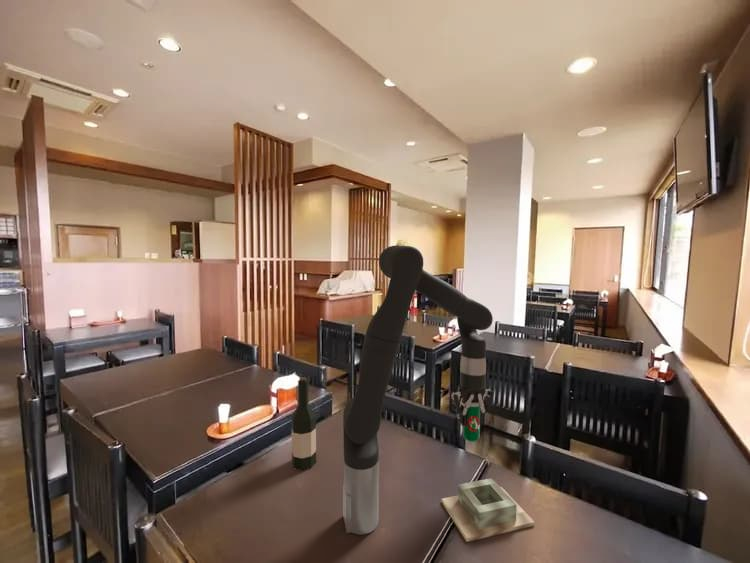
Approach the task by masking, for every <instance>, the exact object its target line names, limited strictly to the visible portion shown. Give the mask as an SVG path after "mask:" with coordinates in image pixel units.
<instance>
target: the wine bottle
mask: <svg viewBox="0 0 750 563" xmlns="http://www.w3.org/2000/svg"><path fill="white" fill-rule="evenodd" d="M297 389H298V390H297V392H298V394H297V397H298V399H297V400H298V401H297V402H298V405H297V406H296V408H295V409H294V411H293V413H292V415H291V463H292V468H293V469H294V468H296V469H295V470H298V469H300V470H299V471H305V470H304V469H306V470H308V469H307V468H310V469H312V468H313V467H314V466H315V465H316V464H317V420H316V418H317V416H316V414H315V413H314V411H313V409H312V407H311V406H310V404H309V380H308V378H307V377H303V376H302V377H300V378H299V379H298V380H297ZM314 464H315V465H314ZM313 465H314V466H313ZM312 466H313V467H312ZM311 467H312V468H311Z"/></svg>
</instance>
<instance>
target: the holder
mask: <svg viewBox="0 0 750 563" xmlns="http://www.w3.org/2000/svg"><path fill="white" fill-rule="evenodd" d="M457 488H458V489H457V495H454V496H453V495H452V496H449V497H444V498H443V497H442V498H441V500H440V502H441V503H442V505H443V507H444V508H445V510H446V511H447V513H448V515H449V516H450V518H451V519H452V521H453V523H454V525H456V527H457V529H458V530H459V532H460V534H461V535H462V537H463V538H464V540H465V542H466V543H467V542H472V541H475V540H481V539H485V538H489V537H493V536H497V535H501V534H505V533H506V534H507V533H510V532H513V531H517V530H522V529H526V528H530V527H535V521H534V520H533V518H531V516H530V515H528V514H527V512H526V511H525V510H524V509H523V508H522V507H521V506H520V505H519V503H518V502H517V501H516V500H515V499H514V498H512V497H511V495H509V493H508V492H507V491H506V490H505V489H504V488H503V487H502V486H500V485H499V484H498V483H497V482H496V481H495V480H494V479H493V477H492V478H486V479H480V480H475V481H470V482H464V483H460V484H458V485H457Z"/></svg>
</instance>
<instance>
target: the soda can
mask: <svg viewBox="0 0 750 563" xmlns="http://www.w3.org/2000/svg"><path fill="white" fill-rule="evenodd" d="M464 403H465V404H466V402H465V401H464ZM480 432H481V424H480V404H479V402H478V401H477V402H471V404H470V407H469V408H468V409H467V412H466V426H464V427H463V426H462V437H463V438H464V440H466V441H468V442H472V443H473V442H477V441H479V440H480V437H481V436H480V435H481V434H480Z"/></svg>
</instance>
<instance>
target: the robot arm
mask: <svg viewBox="0 0 750 563" xmlns="http://www.w3.org/2000/svg"><path fill="white" fill-rule="evenodd" d="M378 266H379V269H380V270H381V272H382V274H383V275H384V276H385V277H386V278H388V279H389V284H388V288H387V291H386V295H385V297H384V299H383V301H382V303H381V305H380V306H379V307H378V309H377V311H376V312H375V314H374V315H373V317H371V320H370V321H369V323H368V325H367V328H366V332H365V335H364V339H363V344H362V347H361V352H360V353H361V354H360V362H359V372H358V373H359V374H358V383H357V387H356V391H355V395H354V396H353V397H351V398H350V399H349V400H348V401H347V402H346V404H345V405H344V409H343V413H342V417H343V420H342V421H343V423H342V424H343V478H344V479H343V482H342V517H343V521H344V522H343V523H344V528H345V531H346V534H349V533H352V534H353V535H360V536H361V535H362V536H363V535H367V534H371V533H372V532H374V530H375V529H377V527H378V525H379V521H380V520H379V517H380V516H379V515H380V512H379V509H380V508H379V505H380V504H379V503H380V502H379V501H380V500H379V498H380V497H379V496H380V495H379V494H380V492H379V484H380V483H379V481H380V479H379V478H380V476H379V471H380V470H379V469H380V468H379V460H380V459H379V458H380V456H379V454H380V453H379V442H378V432H379V431H380V427H381V422H382V415H383V414H382V413H383V408H384V401H385V396H386V392H387V388H388V385H389V383H390V379H391V375H392V374H393V369H394V365H395V362H396V359H397V356H398V352H399V349H400V344H401V341H402V337H403V332H404V328H405V325H406V322H407V318H408V314H409V310H410V307H411V304H412V300H413V298H414V295H415V293H416V292H418V293H419V294H420V295H422V296H424V297H425V298H427V299H428V300H429V301H431V302H432V303H433V304H435V305H436V306H437V307H439V308H441V309H442V310H443V311H445V312H446V313H448V314H449V315H451V316H453V317H455V318H457V319H456V320H457V322H456V323H457V327H458V330H459V331H458V332H459V335H460V339H461V356H460V363H459V364H460V365H459V367H460V368H459V370H460V372H459V374H460V375H459V385H460V388H459V389H458V391H456V392H454V391H451V392H450V399H451V404H452V409H453V411H455V412H456V414H458V415H459V416H458V422H459V424H460V425H461V426H462V428H463V427H464V426H466V412H467V409H468V408H469V407H470V404H471V402H477V401H478V402H479V404H480V425H483V423H484V420H485V419H484V418H485V412H486V411H490V410H491V407H492V404H493V398H494V393H495V392H494V391H493V390H491V389H489V388H486V385H487V384H486V380H487V379H486V378H487V361H486V360H487V358H486V356H487V355H486V351H487V350H486V349H487V348H486V347H487V345H486V344H487V343H486V339H485V338H484V337H482V336H481V335H479V334H478V331H485V330H487V329H489V328H490V327H491V325H492V324H493V321H494V320H493V319H494V318H493V313H492V312H491V310H490V309H489V308H488V307H487V306H485V305H483V304H482V303H481V302H480V303H479V302H478V301H477V300H474V299H472V298H469V297H468V296H466V295H465V294H464V293H463V292H461V291H460V290H459V289H458V288H456V287H455V286H453V285H451V284H450V283H448V282H446V281H444V280H443V279H440V278H439V277H438V276H435V275H433V274H431V273H430V272H428V271H426V270H425V269H424V257H423V254H422V252H421V251H420V250H419V249H418V248H416V247H415V246H410V245H400V244H398V245H391V246H390V245H389V246H387V247H386V248H384V249H383V250H382V252H381V253H380V255H379V259H378ZM477 330H478V331H477ZM460 397H461V398H460ZM464 401H465V402H466V404H465V403H464Z"/></svg>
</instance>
